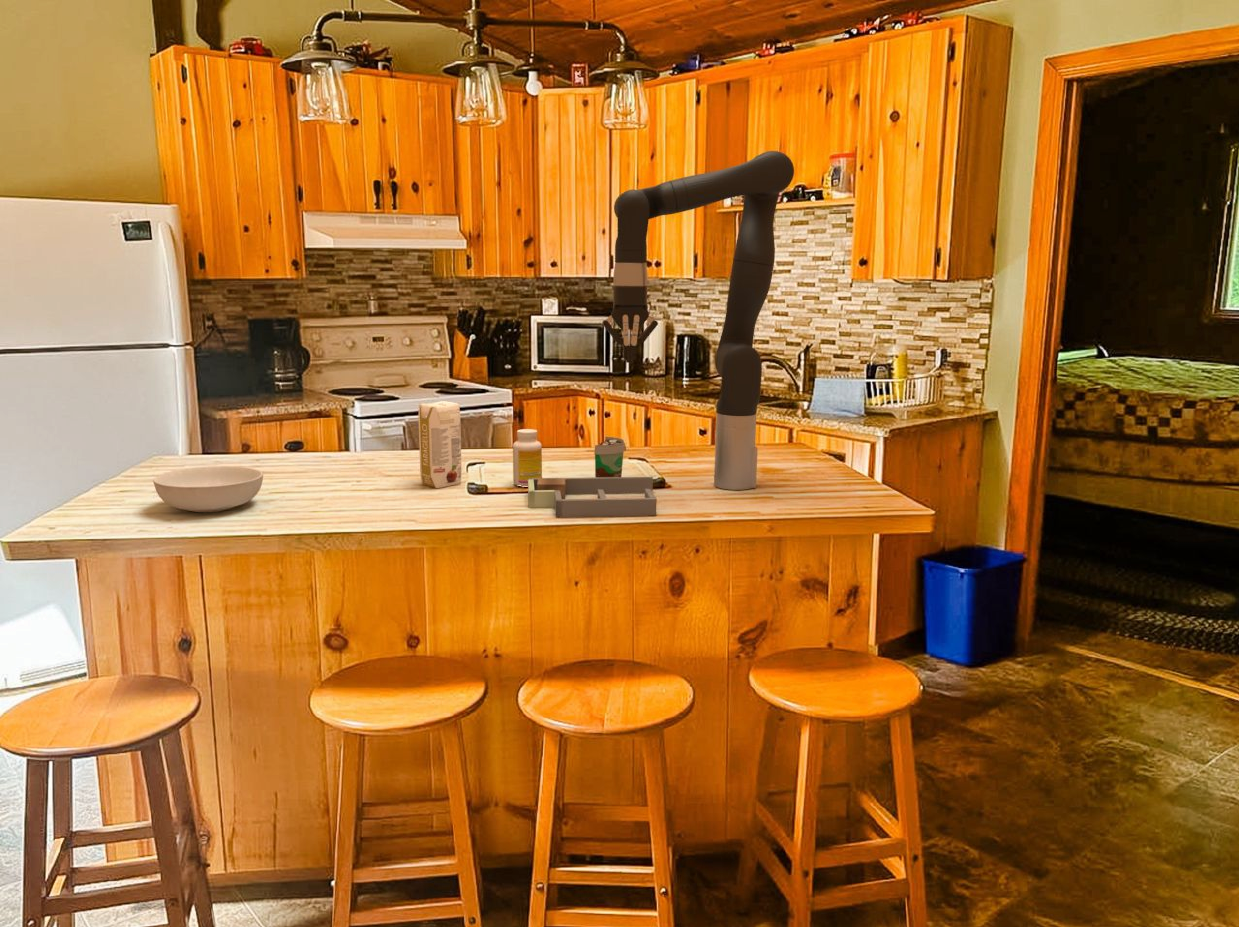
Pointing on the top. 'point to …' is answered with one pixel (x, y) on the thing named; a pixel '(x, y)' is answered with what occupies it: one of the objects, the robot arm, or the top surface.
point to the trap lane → (601, 504)
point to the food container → (609, 457)
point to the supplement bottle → (526, 457)
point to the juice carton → (440, 444)
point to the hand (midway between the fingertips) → (629, 362)
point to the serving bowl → (208, 487)
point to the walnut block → (552, 485)
